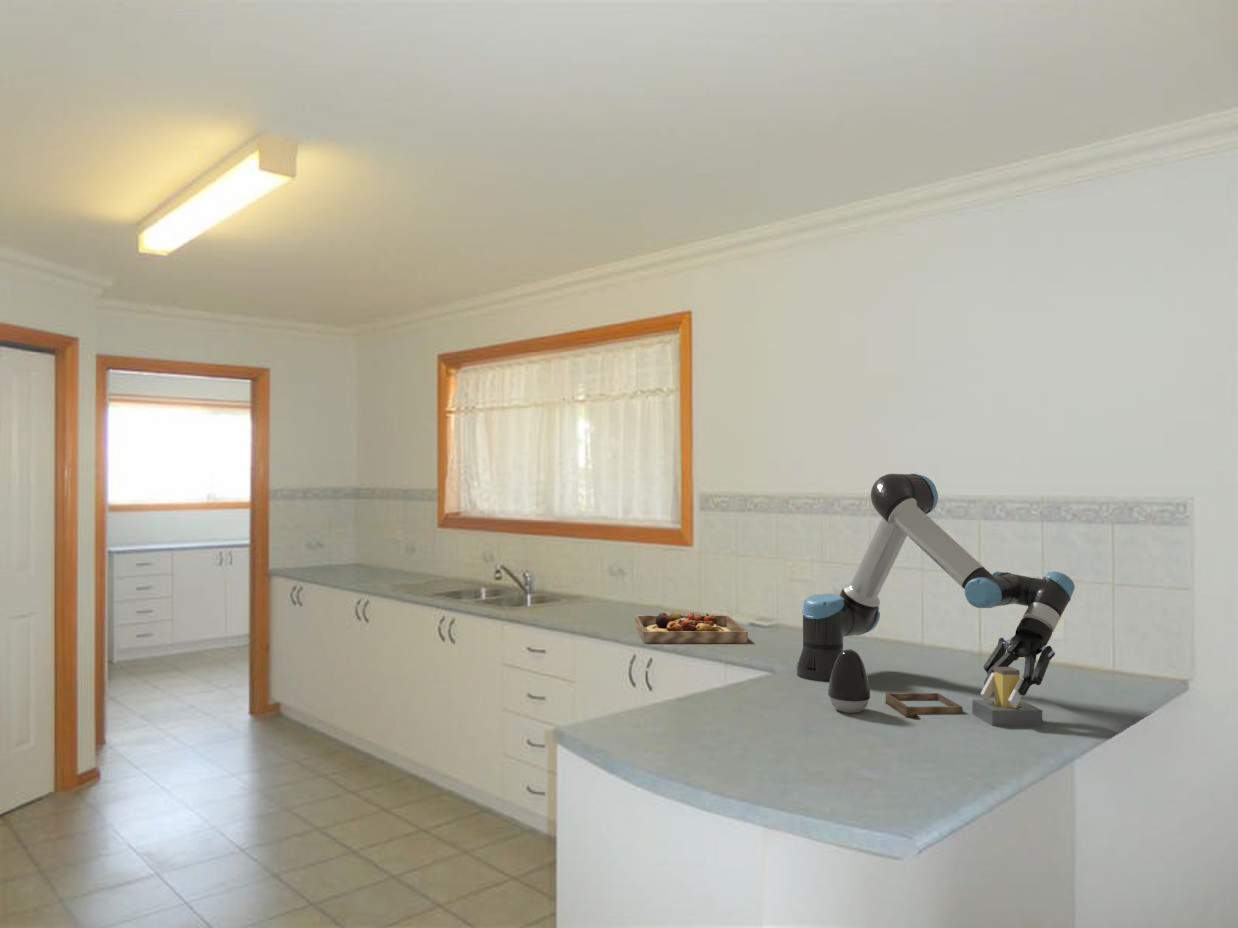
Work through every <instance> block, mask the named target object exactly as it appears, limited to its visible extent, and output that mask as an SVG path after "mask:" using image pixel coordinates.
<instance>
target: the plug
mask: <svg viewBox="0 0 1238 928" xmlns="http://www.w3.org/2000/svg"><path fill="white" fill-rule="evenodd" d="M994 671H995V672H994V691H993V693H994V698H993V700H994V704H996V705H998V706H999V707H1001V708H1013V707H1012V706H1011V704H1010V703H1009V701H1008V699H1009V697H1010V695H1011V693H1012V691H1013V689H1014V688H1015V686H1016V684H1017V682H1018V680H1019V678H1020V670H1019V669H1018V668H1017V669H1016V668H1015V667H1012V666H1008V667H994ZM1016 708H1019V702H1018V704H1017V706H1016Z"/></svg>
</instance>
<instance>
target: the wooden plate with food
mask: <svg viewBox="0 0 1238 928" xmlns="http://www.w3.org/2000/svg"><path fill="white" fill-rule="evenodd" d="M657 615H658V616H657V617H656V621H655V622H656V625H651V626H646V628H645V630H646V631H731V630H730V629H729V628H728V627H725V626H717V625H716V623H717V619H716V617H714V616H715V615H710V614H709V613H706V614H705V615H706V616H703V617H701V616H700V614H694V613H693V612H689V613H688V614H687V617H686V618H683V616H682V614H681V613H680V612H678V611H677V610H674V612H672V613H670V614H667V613H666V611H662V612H660V613H659V614H657ZM668 615H669V616H668ZM695 615H696V616H695ZM709 615H710V616H709ZM702 620H703V621H702Z"/></svg>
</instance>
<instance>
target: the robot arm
mask: <svg viewBox="0 0 1238 928" xmlns="http://www.w3.org/2000/svg"><path fill="white" fill-rule="evenodd" d="M870 500H871V503H872V506H873V508H874V509H875V511H876V512H877V513H878V514H879V515H880V516H881V519H880V521H879V523H878V525H877V527H876V530H874V531H875V532H874V534H873V536H872V538H871V540H870V543H869V545H867V549H866V551H865V553H864V555H863V557H862V560H861V562H860V563H859V565H858V567H857V570H856V572H855V574H854V576H853V578H852V581H851V582H850V583H846V584H844V585H843V587H842V590H841V591H840V593H839V594H838V593H837V594H836V593H835V594H834V593H822V594H820V593H819V594H813V595H810V596H808V597H806V598H805V599H804V601H803V603H802V604H803V605H802V606H803V608H802V650H801V652H800V656H799V659H798V662H797V664H796V676H799V677H801V678H804V679H808V680H815V681H827V682H830V677H831V673H832V669H833V666H834V663H835V661H836V659H837V657H838V655H839V654H840V653H841V652H842V651H844V638H845V637H852V636H853V637H854V636H861V635H864V634H866V633H868V632H871V631H873V630H874V629H875V628H876V626H877V625H878V624H879V621H880V617H881V616H880V615H881V612H880V611H879V610H880V603H881V601H880V599H879V597H878V596H879V594H880V593H881V590H882V588H883V586H884V584H885V582H886V580H887V578H888V576H889V574H890V572H891V569H892V568H893V565H894V564H895V561H896V559H897V558H898V555H899V554H900V551H901V549H902V547H903V545H904V543H905V540H906V539H907V537H909V539H910V540H911V541H912V542H914V544H916V546H918V547H919V548H920V549H921V550H922V551H923V552H924V554H926V555H927V556H928V557H929V558H930V559H931V560H932V561H934V563H936V564H937V565H938V566H939V567H940V568H941V569H942V570H943V571H944V572H945V574H948V575H949V576H950V577H951V578H952V580H953V581H954V582H956V584H958V585H959V586H961V588H962V589H964V596H965V598H966V600H967V602H968V603H969V604H970V605H971V606H972V607H974V608H978V609H992V608H995V607H999V606H1000V607H1001V606H1009V605H1021V606H1025V607H1027V608H1026V610H1025V612H1024V614H1023V615H1022V619H1021V620H1020V621H1019V624H1018V625H1017V627H1016V630H1015V632H1014V635H1013V636H1012V637H1011V638H1010V639H1005V638H1004V637H1000V638H998V642H997V645H996V646H995V648H994V649H993V651H992V652H991V654H990V655H989V657H988V659H987V660H986V661H985V662H984V665H983V667H982V668H983V669H984V670H985V673H986V674H987V675H986V678H985V679H984V681H983V684H984V686H983V688H982V689H981V692H980V696H981V697H982V698H983V700H985V701H988V700H991V696H992V695H993V693H994V672H995V671H994V667H1010V665H1012V664H1013V662H1014V661H1018V660H1019V658H1024V659H1025V661H1024V669H1023V675H1021V677H1022V678H1021V677H1019V680H1018V682H1017V684H1016V686H1015V688H1014V689H1013V691H1012V693H1011V695H1010V697H1009V699H1008V701H1009V703H1010V704H1011V706H1012V707H1013V708H1016V706H1017V704H1018V702H1019V701H1020V700H1022V699H1021V698H1022V697H1024V696H1026V695H1027V693H1028V691H1029V690H1030V687H1031V686H1032V685H1036V686H1040V685H1041V684H1042V682H1043V680H1044V677H1045V674H1046V672H1047V670H1048V667H1049V665H1050V662H1051V660H1052V659H1053V657H1055V655H1056V653H1055V650H1054V649H1053V648H1052V646H1051V645H1048V643H1049V641H1050V640H1051V637H1052V635H1053V633H1054V631H1055V629H1056V627H1057V625H1058V623H1059V621H1060V619H1061V617H1062V616H1063V613H1064V611H1065V610H1066V608H1067V606H1068V604H1069V602H1071V600H1072V596H1073V595H1074V592H1075V587H1076V586H1075V583H1074V581H1073V580H1072V579H1071V577H1070V576H1068V575H1066V574H1064V573H1062V572H1059V571H1048V572H1047V573H1046V574H1045V575H1044V576H1043V578H1039V577H1030V576H1024V575H1020V574H1016V573H1012V572H1006V571H1005V572H1003V571H994V572H993V573H991V572H990V571H989V570H987V569H986V568H985V567H984V566H983V565H982V564H981V563H980V561H979V562H978V560H976V558H975V557H974V556H972V555H971V554H970V553H969V552H968V551H967V550H966V549H964V548H963V547H962V546H961V544H960V543H958V542H957V541H955V539H953V537H952V536H950V535H949V533H947V532H946V531H945V530H944V529H943V528H941V527H940V526H939V525H938V524H937V523H936V522H935V521H934V520H933V519H931V518H930V516H928V514H930V513H931V512H932V511H934V509H935V508H936V506H937V504H938V500H939V493H938V490H937V486H936V484H935V483H934V482H933V481H932V480H931V479H930V478H929V477H927V476H925V475H922V474H918V473H910V474H909V473H908V474H907V473H888V474H887V473H886V474H885V475H882V476H881V477H879V478H878V479H877V480H876V481H875V482H874V483H873V485H872V487H871V491H870ZM1038 655H1039V658H1038V660H1037V656H1038ZM1036 662H1037V663H1036ZM1035 664H1036V665H1035Z"/></svg>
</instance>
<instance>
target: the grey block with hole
mask: <svg viewBox="0 0 1238 928" xmlns="http://www.w3.org/2000/svg"><path fill="white" fill-rule="evenodd" d="M971 709H972V712H971V714H972V715H973V716H975V717H977V718H978V719H980V720H982V721H983V722H985V723H987V724H988V725H990V726H992V727H995V726H996V727H1004V726H1005V727H1009V726H1010V727H1014V726H1015V727H1016V726H1017V727H1021V726H1022V727H1023V726H1028V727H1029V726H1032V727H1033V726H1035V727H1036V726H1043V709H1040V708H1039V707H1036V706H1034V705H1032V704H1030V703H1029V702H1026V701H1024V700H1022V699H1020V701H1019V708H1001V707H999V706H998V705H996V704H994V699H989V700H988V701H985V700H984V699H972V707H971Z"/></svg>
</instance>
